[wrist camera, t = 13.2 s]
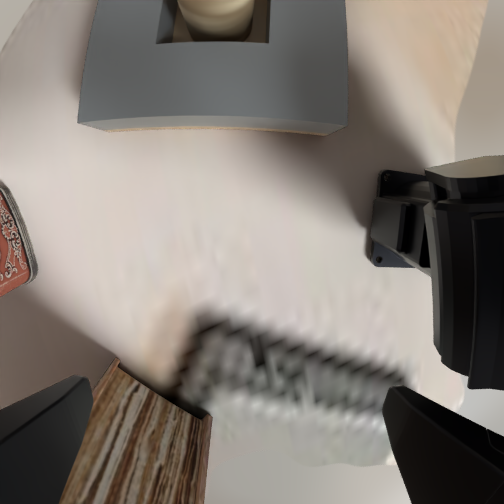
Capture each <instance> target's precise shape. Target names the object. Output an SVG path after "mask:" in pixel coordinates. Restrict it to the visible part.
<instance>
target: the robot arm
mask: <svg viewBox="0 0 504 504" xmlns="http://www.w3.org/2000/svg"><path fill="white" fill-rule="evenodd" d="M424 170H425V175H426V176H423V175H417V174H411V173H405V172H399V171H392V170H382V171H381V172H380V173H379V176H378V189H377V198H376V199H375V200H374V204H373V215H372V225H371V235H370V237H371V238H372V239H373V241H372V250H371V258H370V259H371V263H372V264H373V265H375V266H377V267H401V268H417V269H419V270H420V271H422V272H424V273H425V274H427V275H429V276H430V277H431V279H432V296H433V328H434V345H435V347H436V349H437V351H438V353H439V354H440V355H441V362H442V363H443V364H444V365H446V366H447V367H448V368H450V369H451V370H453V371H455V372H458V373H460V374H462V375H465V376H468V377H469V378H468V385H467V387H468V388H469V389H497V390H504V155H501V156H500V155H499V156H483V157H478V158H473V159H468V160H464V161H459V162H454V163H449V164H445V165H440V166H436V167H431V168H427V169H424ZM385 174H387V175H388V180H387V181H385V179H384V175H385ZM378 256H380V260H379V261H378V262H376V258H377V257H378ZM93 403H94V400H93V395H92V391H91V387H90V384H89V380H88V378H87V377H85V376H80V375H73V376H71V377H69V378H67V379H65V380H63V381H61V382H59V383H56V384H54V385H52V386H50V387H48V388H46V389H44V390H42V391H40V392H38V393H35V394H33V395H31V396H29V397H27V398H25V399H23V400H21V401H18V402H16V403H14V404H12V405H10V406H8V407H5V408H3V409H1V410H0V504H59V502H60V499H61V496H62V494H63V491H64V488H65V486H66V483H67V480H68V478H69V475H70V472H71V470H72V467H73V465H74V462H75V460H76V457H77V455H78V452H79V450H80V447H81V445H82V442H83V438H84V435H85V431H86V428H87V424H88V421H89V417H90V414H91V411H92V407H93ZM382 413H383V417H384V421H385V425H386V428H387V432H388V436H389V440H390V444H391V448H392V451H393V454H394V457H395V460H396V462H397V465H398V467H399V470H400V473H401V476H402V478H403V481H404V484H405V486H406V489H407V492H408V495H409V498H410V500H411V503H412V504H504V436H502V435H499V434H497V433H495V432H493V431H491V430H489V429H487V430H486V428H485V427H483V426H481V425H479V424H477V423H475V422H473V421H471V420H469V419H467V418H465V417H462V416H461V415H459V414H457V413H455V412H453V411H451V410H449V409H447V408H445V407H443V406H441V405H439V404H438V403H436V402H434V401H432V400H430V399H428V398H426V397H424V396H422V395H420V394H419V393H417V392H415V391H413V390H411V389H409V388H407V387H405V386H404V385H397V386H392V387H390V388H389V390H388V393H387V396H386V398H385V401H384V404H383V408H382Z"/></svg>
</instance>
